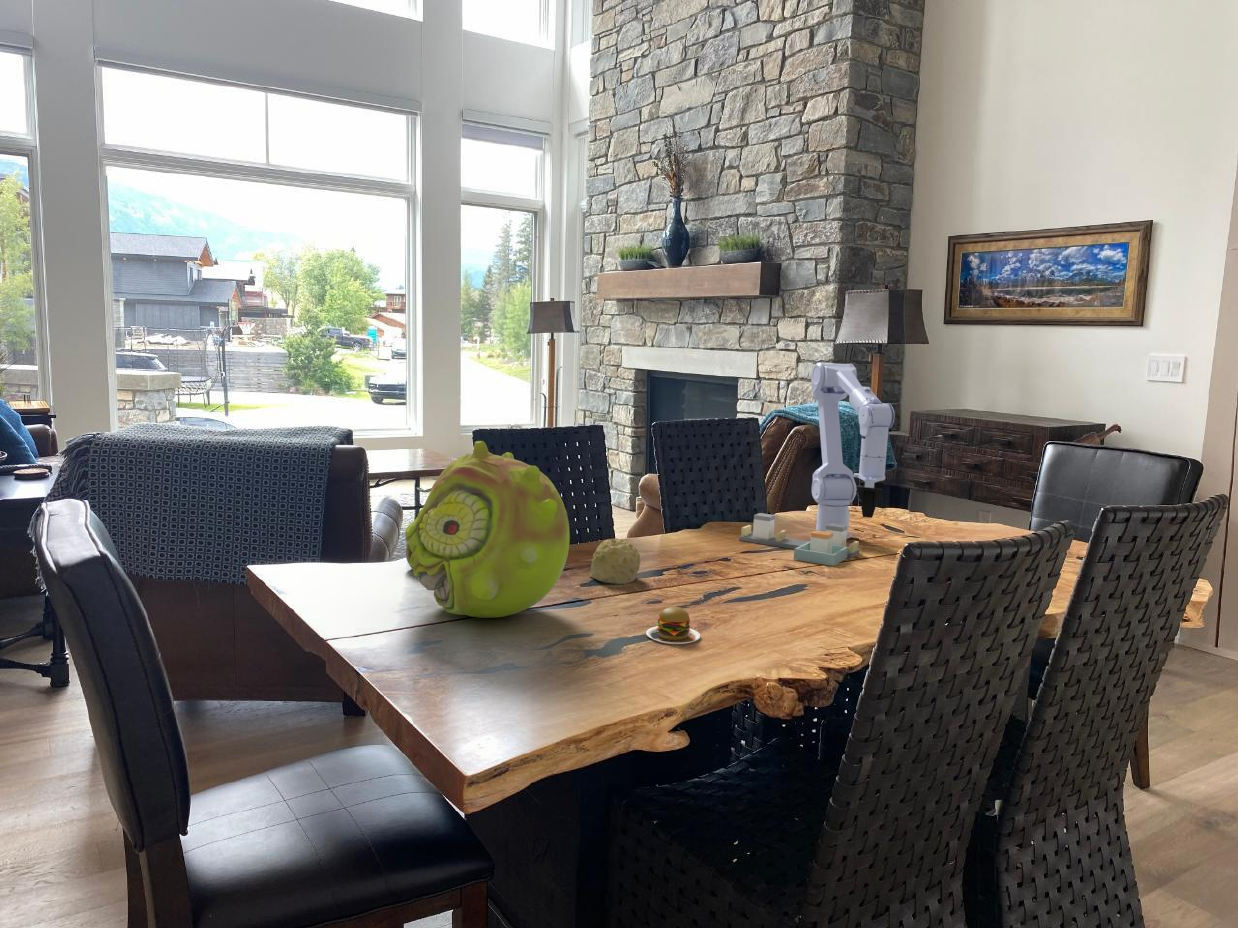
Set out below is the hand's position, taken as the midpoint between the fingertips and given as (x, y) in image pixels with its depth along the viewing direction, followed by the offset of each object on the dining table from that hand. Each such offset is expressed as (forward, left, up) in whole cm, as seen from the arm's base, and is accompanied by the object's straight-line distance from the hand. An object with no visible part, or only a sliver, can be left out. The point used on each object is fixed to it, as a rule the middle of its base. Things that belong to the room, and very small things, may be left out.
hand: (868, 514), depth 219 cm
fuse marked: (+10, -8, -9) cm, 15 cm away
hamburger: (+81, -8, -11) cm, 82 cm away
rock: (+55, -35, -10) cm, 66 cm away
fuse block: (+1, -16, -10) cm, 19 cm away
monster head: (+90, -40, -10) cm, 99 cm away
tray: (+10, -7, -10) cm, 16 cm away
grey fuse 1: (+1, -25, -9) cm, 27 cm away
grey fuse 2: (+1, -7, -9) cm, 11 cm away
